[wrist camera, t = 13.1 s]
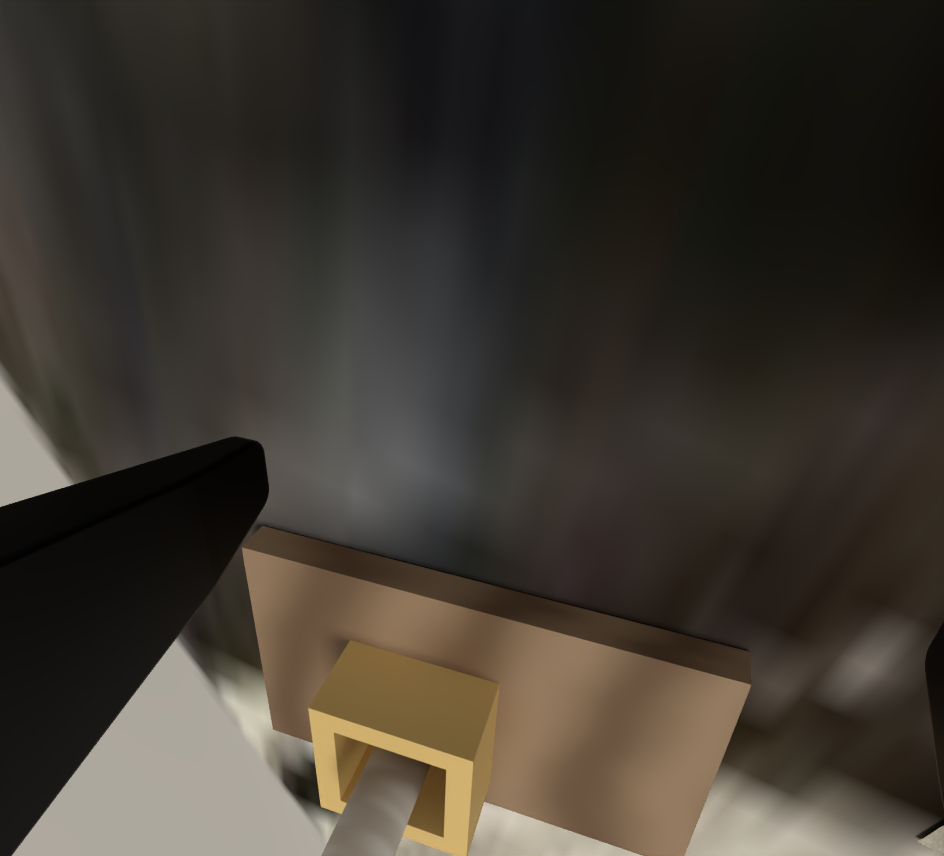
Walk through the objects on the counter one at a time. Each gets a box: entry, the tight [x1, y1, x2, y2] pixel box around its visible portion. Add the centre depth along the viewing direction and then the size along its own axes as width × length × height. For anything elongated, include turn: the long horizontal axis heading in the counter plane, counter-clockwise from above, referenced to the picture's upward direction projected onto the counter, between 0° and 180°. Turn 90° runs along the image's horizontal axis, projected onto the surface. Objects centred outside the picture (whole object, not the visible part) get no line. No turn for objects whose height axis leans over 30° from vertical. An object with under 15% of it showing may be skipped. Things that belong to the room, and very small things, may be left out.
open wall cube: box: [308, 640, 500, 856], centre depth 27 cm, size 7×7×4 cm
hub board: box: [242, 526, 751, 856], centre depth 26 cm, size 20×12×8 cm, turn 88°
